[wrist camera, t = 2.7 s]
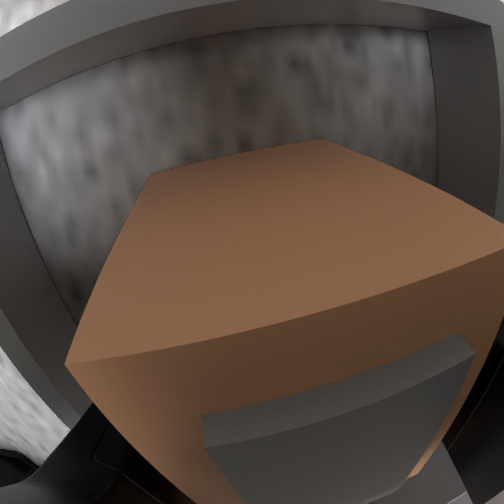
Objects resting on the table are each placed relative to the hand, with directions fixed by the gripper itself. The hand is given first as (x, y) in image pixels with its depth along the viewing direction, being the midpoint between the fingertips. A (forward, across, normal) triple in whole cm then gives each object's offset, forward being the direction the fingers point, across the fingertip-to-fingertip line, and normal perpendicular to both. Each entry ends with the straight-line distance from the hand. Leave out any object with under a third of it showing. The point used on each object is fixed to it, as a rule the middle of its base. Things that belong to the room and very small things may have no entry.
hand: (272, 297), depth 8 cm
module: (+2, 0, 0) cm, 2 cm away
